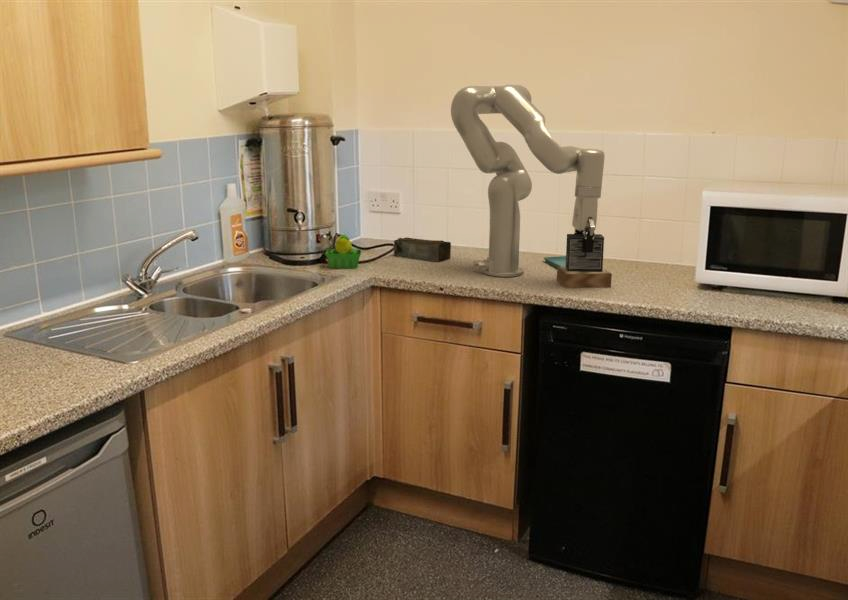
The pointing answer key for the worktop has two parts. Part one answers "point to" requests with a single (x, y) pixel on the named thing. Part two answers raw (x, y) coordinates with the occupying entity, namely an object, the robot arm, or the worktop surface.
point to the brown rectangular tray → (583, 278)
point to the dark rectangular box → (422, 249)
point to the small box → (584, 254)
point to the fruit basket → (343, 254)
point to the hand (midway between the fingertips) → (582, 248)
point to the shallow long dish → (556, 261)
